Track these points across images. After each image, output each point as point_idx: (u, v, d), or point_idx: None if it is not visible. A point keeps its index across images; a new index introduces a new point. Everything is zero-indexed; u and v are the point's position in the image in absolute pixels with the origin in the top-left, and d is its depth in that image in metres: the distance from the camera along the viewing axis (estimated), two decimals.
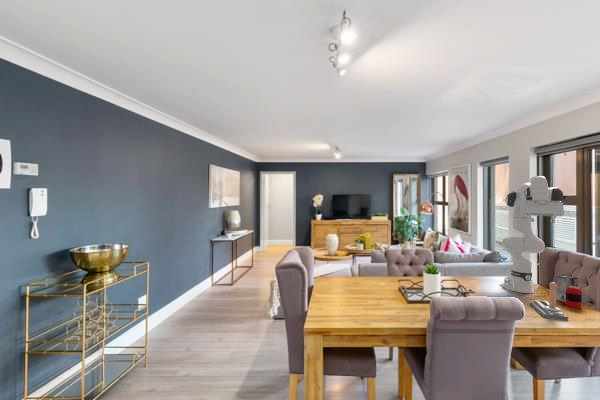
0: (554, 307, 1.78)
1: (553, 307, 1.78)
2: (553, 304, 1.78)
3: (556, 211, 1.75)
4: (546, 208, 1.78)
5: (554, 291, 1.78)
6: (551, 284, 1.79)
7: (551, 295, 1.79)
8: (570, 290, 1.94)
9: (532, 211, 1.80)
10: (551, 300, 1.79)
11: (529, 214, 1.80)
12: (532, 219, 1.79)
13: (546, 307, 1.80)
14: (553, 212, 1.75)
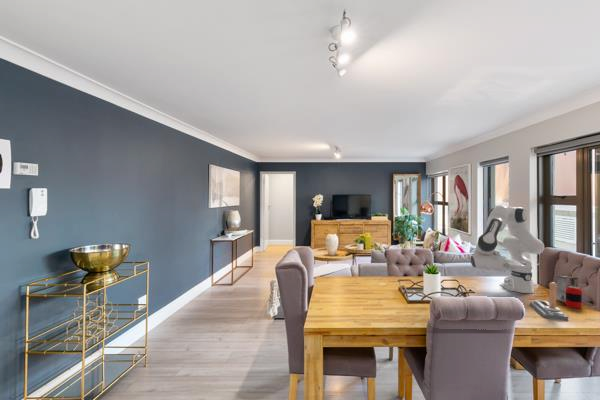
0: (554, 307, 1.78)
1: (553, 307, 1.78)
2: (553, 304, 1.78)
3: None
4: None
5: (554, 291, 1.78)
6: (551, 284, 1.79)
7: (551, 295, 1.79)
8: (570, 290, 1.94)
9: None
10: (551, 300, 1.79)
11: None
12: None
13: (546, 307, 1.80)
14: None
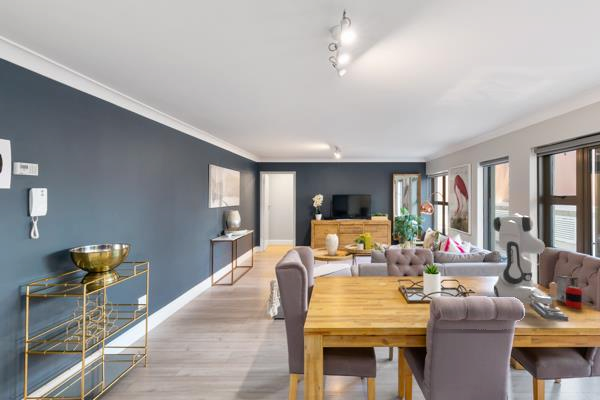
0: (554, 307, 1.78)
1: (553, 307, 1.78)
2: (553, 304, 1.78)
3: None
4: None
5: (554, 291, 1.78)
6: (551, 284, 1.79)
7: (551, 295, 1.79)
8: (570, 290, 1.94)
9: None
10: None
11: None
12: None
13: (546, 307, 1.80)
14: None
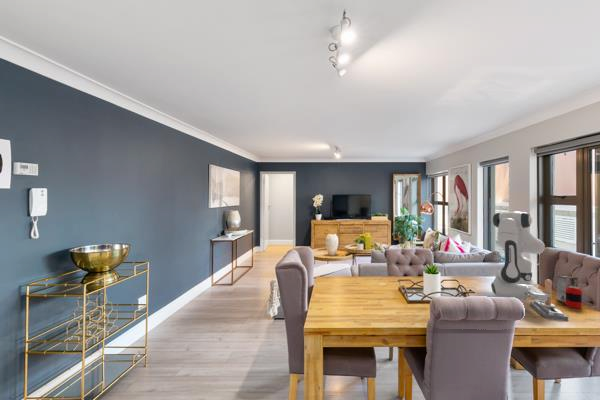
0: (549, 303, 1.84)
1: (548, 303, 1.84)
2: (548, 301, 1.84)
3: None
4: None
5: (549, 288, 1.84)
6: (546, 281, 1.85)
7: (546, 292, 1.85)
8: (570, 290, 1.94)
9: None
10: None
11: None
12: None
13: (542, 303, 1.86)
14: None
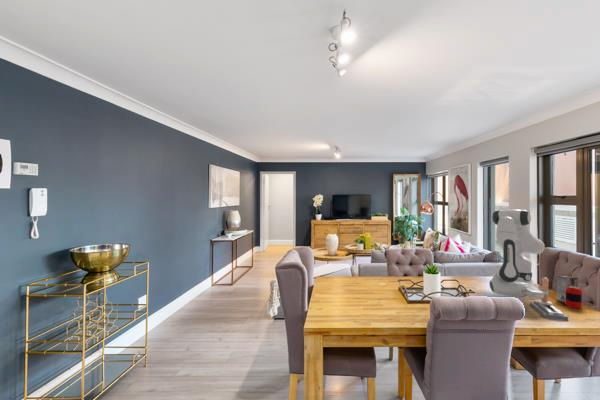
0: (546, 301, 1.88)
1: (545, 301, 1.88)
2: (545, 298, 1.88)
3: None
4: None
5: (546, 286, 1.88)
6: (543, 279, 1.89)
7: (543, 290, 1.89)
8: (570, 290, 1.94)
9: None
10: None
11: None
12: None
13: (538, 301, 1.90)
14: None
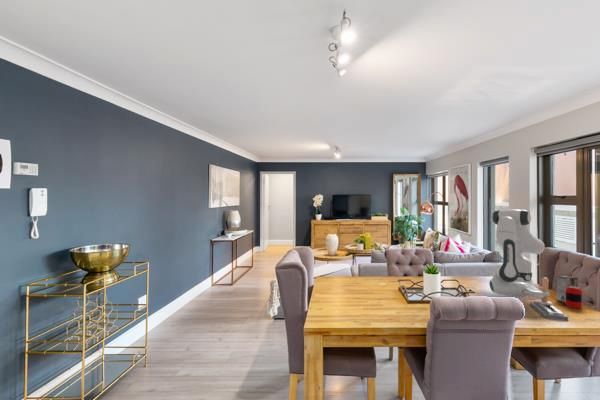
0: (546, 301, 1.88)
1: (545, 301, 1.88)
2: (545, 298, 1.88)
3: None
4: None
5: (546, 286, 1.88)
6: (543, 279, 1.89)
7: (543, 290, 1.89)
8: (570, 290, 1.94)
9: None
10: None
11: None
12: None
13: (538, 301, 1.90)
14: None
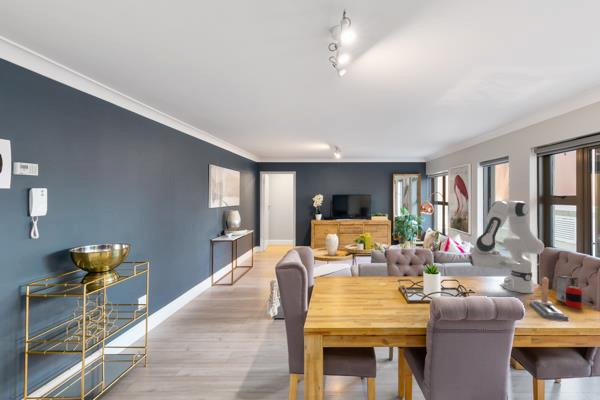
0: (546, 301, 1.88)
1: (545, 301, 1.88)
2: (545, 298, 1.88)
3: None
4: None
5: (546, 286, 1.88)
6: (543, 279, 1.89)
7: (543, 290, 1.89)
8: (570, 290, 1.94)
9: None
10: (543, 294, 1.89)
11: None
12: None
13: (538, 301, 1.90)
14: None
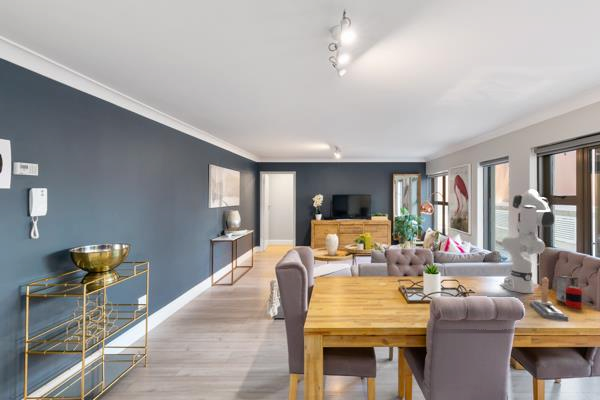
0: (546, 301, 1.88)
1: (545, 301, 1.88)
2: (545, 298, 1.88)
3: (528, 244, 1.91)
4: (525, 240, 1.95)
5: (546, 286, 1.88)
6: (543, 279, 1.89)
7: (543, 290, 1.89)
8: (570, 290, 1.94)
9: (521, 242, 2.01)
10: (543, 294, 1.89)
11: (522, 245, 2.02)
12: (523, 250, 2.01)
13: (538, 301, 1.90)
14: (527, 245, 1.92)
